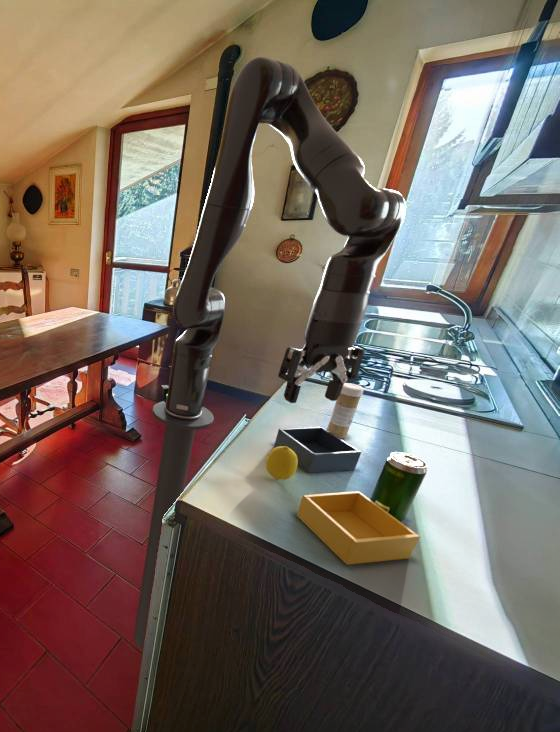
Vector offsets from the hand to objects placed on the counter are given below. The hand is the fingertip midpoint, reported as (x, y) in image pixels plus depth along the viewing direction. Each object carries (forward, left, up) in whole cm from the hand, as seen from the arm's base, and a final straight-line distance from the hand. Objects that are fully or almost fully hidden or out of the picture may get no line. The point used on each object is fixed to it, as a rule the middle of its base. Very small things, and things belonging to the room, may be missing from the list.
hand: (310, 400), depth 74 cm
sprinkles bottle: (-16, +26, -19) cm, 36 cm away
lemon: (0, -2, -19) cm, 19 cm away
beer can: (+12, +11, -19) cm, 25 cm away
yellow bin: (+16, 0, -18) cm, 24 cm away
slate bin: (-7, +12, -18) cm, 23 cm away
